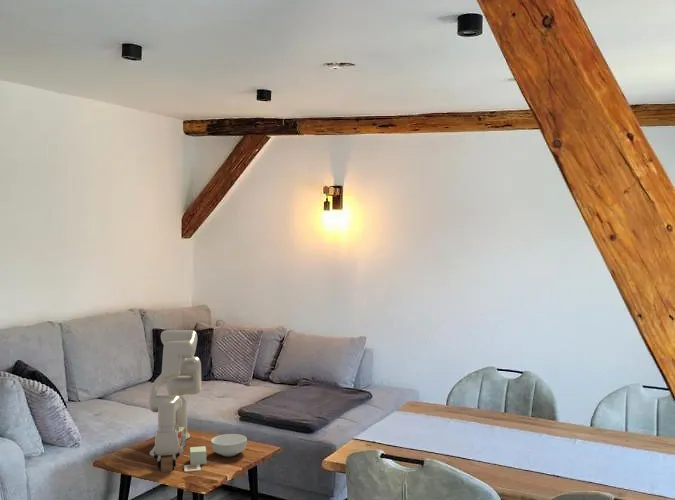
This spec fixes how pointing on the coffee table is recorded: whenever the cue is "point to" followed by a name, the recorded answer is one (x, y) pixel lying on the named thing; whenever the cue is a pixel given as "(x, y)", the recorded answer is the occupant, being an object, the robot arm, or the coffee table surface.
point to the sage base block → (197, 455)
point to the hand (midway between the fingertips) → (166, 468)
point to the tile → (192, 468)
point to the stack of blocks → (181, 437)
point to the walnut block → (166, 462)
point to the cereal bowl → (229, 444)
